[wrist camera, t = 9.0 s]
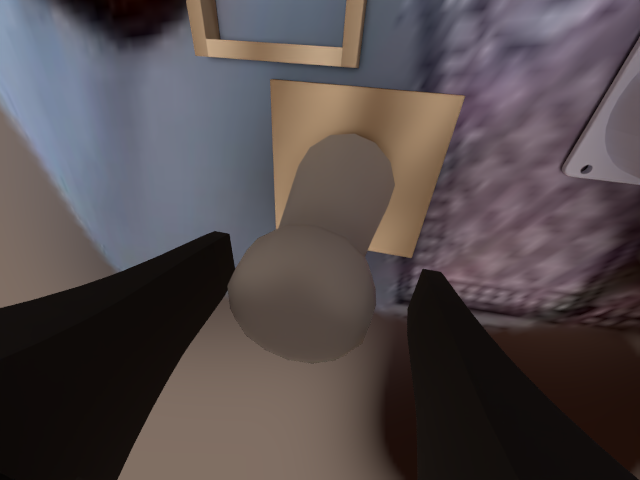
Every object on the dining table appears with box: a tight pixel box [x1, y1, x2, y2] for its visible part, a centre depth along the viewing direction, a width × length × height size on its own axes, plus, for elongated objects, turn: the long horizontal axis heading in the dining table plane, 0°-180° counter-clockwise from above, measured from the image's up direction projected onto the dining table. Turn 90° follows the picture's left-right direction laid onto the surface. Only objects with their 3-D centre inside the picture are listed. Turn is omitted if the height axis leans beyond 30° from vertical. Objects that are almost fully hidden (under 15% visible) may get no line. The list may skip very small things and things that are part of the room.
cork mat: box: [270, 79, 465, 258], centre depth 18 cm, size 11×11×1 cm
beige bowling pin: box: [227, 134, 395, 363], centre depth 12 cm, size 6×6×13 cm
